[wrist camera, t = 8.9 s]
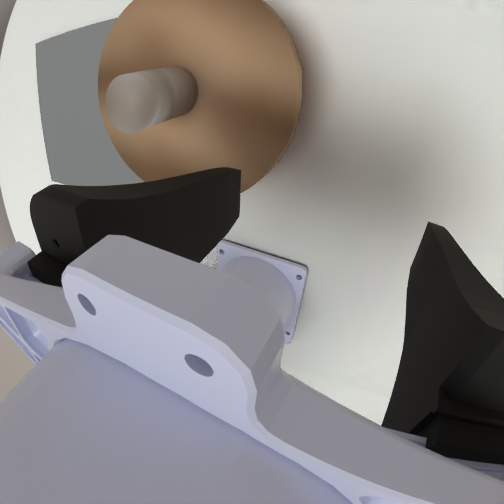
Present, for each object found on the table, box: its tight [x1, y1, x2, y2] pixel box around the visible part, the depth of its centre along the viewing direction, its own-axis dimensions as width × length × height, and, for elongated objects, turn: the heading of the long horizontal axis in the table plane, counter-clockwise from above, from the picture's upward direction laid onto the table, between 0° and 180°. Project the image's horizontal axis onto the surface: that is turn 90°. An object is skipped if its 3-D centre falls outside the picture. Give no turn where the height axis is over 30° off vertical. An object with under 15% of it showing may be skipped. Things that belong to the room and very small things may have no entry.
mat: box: [36, 18, 144, 186], centre depth 27 cm, size 18×18×1 cm
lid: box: [98, 0, 303, 193], centre depth 15 cm, size 14×14×5 cm
